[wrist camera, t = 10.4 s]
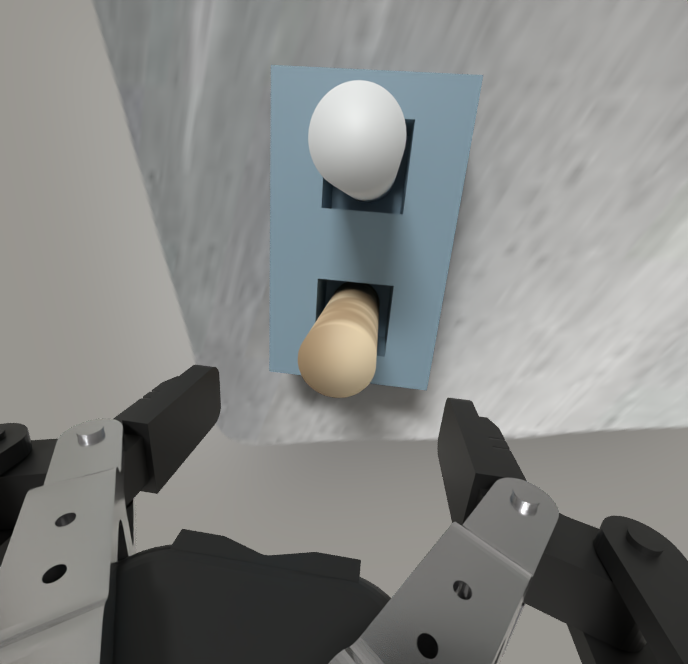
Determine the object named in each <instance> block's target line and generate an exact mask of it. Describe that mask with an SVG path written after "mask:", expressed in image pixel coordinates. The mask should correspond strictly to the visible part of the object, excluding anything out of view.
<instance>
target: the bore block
mask: <svg viewBox="0 0 688 664" xmlns="http://www.w3.org/2000/svg"><path fill="white" fill-rule="evenodd" d="M482 79H483V75H468V74H448V73H427V72H406V71H385V70H365V69H344V68H323V67H302V66H282V65H271V170H270V362H269V371H272V372H280V373H288V374H296V375H301V373H300V370H299V367H298V352H299V349H300V346H301V344H302V342H303V341H304V339H305V338H306V336H307V334H308V333H309V331H310V330H311V328H312V327H313V325H314V324H315V322H316V321H317V319H318V318H319V316H320V315H321V313H322V311H323V310H324V308H325V307H326V305H327V304H328V302H329V301H330V299H331V298H332V296H333V295H334V293H335V292H336V290H337V289H338V288H339V287H340V286H341V285H342V284H344V283H345V282H359V283H368V284H369V285H371V286H372V287H373V288H374V289H375V291H376V292H377V294H378V297H379V302H380V305H379V323H378V340H377V358H376V370H375V374H374V377H373V379H372V380H371V382H370V384H378V385H387V386H395V387H403V388H411V389H420V390H427V386H428V380H429V375H430V369H431V364H432V358H433V353H434V347H435V341H436V336H437V330H438V325H439V319H440V314H441V308H442V302H443V297H444V291H445V286H446V280H447V275H448V269H449V263H450V258H451V252H452V247H453V241H454V236H455V230H456V224H457V219H458V213H459V208H460V202H461V197H462V191H463V185H464V180H465V174H466V169H467V163H468V158H469V152H470V146H471V141H472V135H473V130H474V124H475V119H476V113H477V107H478V102H479V96H480V91H481V85H482Z"/></svg>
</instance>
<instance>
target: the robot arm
mask: <svg viewBox="0 0 688 664" xmlns="http://www.w3.org/2000/svg"><path fill="white" fill-rule="evenodd" d="M220 409H221V401H220V381H219V371H218V369H217V368H216V367H210V366H202V365H193V366H192V367H190V368H189V369H188V370H187V371H185V372H184V373H183V374H181V375H180V376H177V377H174V378H172V379H170V380H167V381H165V382H162V383H161V384H160V385H158V386H157V387H156V388H154V389H153V390H152V392H149V393H147V394H146V395H145V396H143V399H139V400H138V401H137V402H136V403H134V404H133V405H131V406H130V407H129V408H127V409H126V410H124V411H123V412H122V413H120V414H119V415H118V416H116V417H115V418H114V419H95V420H90V421H86V422H83V423H81V424H78V425H76V426H73V427H71V428H70V429H68V430H67V431H65V432H64V433H63V434H62V435H61V436H60V437H59V438H58V439H47V440H30V436H29V432H28V429H27V427H26V426H25V425H22V424H18V423H6V424H0V664H500V662H501V660H502V657H503V655H504V653H505V650H506V648H507V646H508V643H509V641H510V639H511V636H512V634H513V632H514V630H515V627H516V624H517V622H518V620H519V618H520V616H521V613H522V611H523V609H524V606H525V604H528V605H530V606H532V607H534V608H536V609H538V610H540V611H542V612H544V613H546V614H548V615H550V616H552V617H554V618H556V619H558V620H560V621H562V622H564V623H566V624H567V626H568V628H569V631H570V633H571V636H572V638H573V641H574V644H575V646H576V649H577V652H578V654H579V657H580V659H581V662H582V664H688V561H687V559H686V558H685V557H684V556H683V554H682V553H681V552H680V551H679V550H678V549H677V548H676V547H675V545H673V544H672V543H671V542H670V541H669V540H668V539H667V538H665V537H664V536H663V535H661V534H660V533H658V532H657V531H655V530H654V529H652V528H650V527H649V526H646V525H645V524H643V523H640V522H638V521H636V520H633V519H630V518H627V517H622V516H610V517H607V518H605V519H604V520H603V522H602V524H601V527H600V529H598V528H595V527H593V526H590V525H587V524H585V523H582V522H579V521H577V520H574V519H571V518H569V517H566V516H564V515H562V514H560V513H559V511H558V508H557V506H556V504H555V502H554V501H553V500H552V499H551V497H550V496H549V495H548V494H546V493H545V492H544V491H543V490H541V489H540V488H538V487H537V486H535V485H533V484H531V483H529V482H527V481H526V479H525V477H524V475H523V473H522V471H521V469H520V467H519V466H518V464H517V462H516V460H515V458H514V456H513V454H512V452H511V451H510V450H509V447H508V445H507V443H506V441H505V439H504V437H503V435H502V433H501V431H500V429H499V428H498V427H497V426H496V425H495V424H494V423H493V422H491V421H490V420H489V419H488V418H486V417H479V416H478V413H477V411H476V409H475V407H474V405H473V402H472V401H470V400H463V399H455V398H447V400H446V403H445V408H444V413H443V417H442V422H441V427H440V432H439V437H438V457H439V462H440V467H441V472H442V477H443V481H444V486H445V491H446V495H447V500H448V505H449V509H450V514H451V519H452V524H451V525H450V527H449V528H448V529H447V530H446V532H445V533H444V534H443V535H442V536H441V538H440V539H439V540H438V541H437V543H436V544H435V545H434V546H433V547H432V549H431V550H430V551H429V552H428V554H427V555H426V556H425V557H424V559H423V560H422V561H421V562H420V563H419V565H418V566H417V567H416V568H415V570H414V571H413V572H412V573H411V575H410V576H409V577H408V578H407V579H406V581H405V582H404V583H403V585H402V586H401V587H400V588H399V589H398V591H397V592H396V593H395V595H394V596H393V597H392V598H390V597H389V596H388V595H387V594H386V593H385V592H383V591H382V590H381V589H380V588H379V587H377V586H375V585H374V584H372V583H371V582H369V581H367V580H365V579H363V578H361V577H359V575H360V563H361V560H358V559H352V558H346V557H341V556H335V555H329V554H323V553H318V552H309V553H298V554H284V555H269V556H268V555H263V554H260V553H258V552H256V551H254V550H252V549H250V548H247V547H246V546H243V545H241V544H239V543H237V542H235V541H233V540H231V539H229V538H227V537H225V536H220V535H214V534H209V533H203V532H197V531H191V530H186V529H182V530H181V532H180V533H179V535H178V536H177V538H176V539H175V541H174V543H173V544H172V545H165V546H160V547H155V548H151V549H148V550H145V551H142V552H139V553H136V505H135V499H134V497H135V496H136V495H137V494H138V493H139V492H140V491H144V492H150V493H156V494H157V493H158V492H159V491H160V490H161V489H162V487H163V486H164V485H165V484H166V483H167V481H168V480H169V479H170V478H171V477H172V475H173V474H174V473H175V472H176V471H177V469H178V468H179V467H180V466H181V464H182V463H183V462H184V461H185V460H186V458H187V457H188V456H189V455H190V453H191V452H192V451H193V450H194V449H195V448H196V446H197V445H198V444H199V443H200V442H201V440H202V439H203V438H204V437H205V436H206V434H207V433H208V432H209V431H210V430H211V428H212V427H213V426H214V425H215V423H216V422H217V420H218V418H219V414H220Z"/></svg>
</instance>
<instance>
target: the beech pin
mask: <svg viewBox="0 0 688 664" xmlns="http://www.w3.org/2000/svg"><path fill="white" fill-rule="evenodd" d="M379 305H380V302H379V297H378V294H377V292H376V291H375V289H374V288H373V287H372V286H371V285H369V284H368V283H359V282H345V283H344V284H342V285H341V286H340V287H339V288H338V289H337V290H336V292H335V293H334V295H333V296H332V298H331V299H330V301H329V302H328V304H327V305H326V307H325V308H324V310H323V311H322V313H321V315H320V316H319V318H318V319H317V321H316V322H315V324H314V325H313V327H312V328H311V330H310V331H309V333H308V334H307V336H306V338H305V339H304V341H303V342H302V344H301V346H300V349H299V352H298V367H299V370H300V373H301V375H302V377H303V379H304V380H305V382H306V383H307V384H308V385H309V386H310V387H311V388H312V389H314V390H315V391H317V392H318V393H320V394H323V395H325V396H329V397H334V398H344V397H349V396H353V395H355V394H357V393H359V392H361V391H362V390H364V389H365V388H366V387H367V386H368V385H369V383H370V382H371V380H372V379H373V377H374V374H375V370H376V358H377V340H378V323H379Z"/></svg>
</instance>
